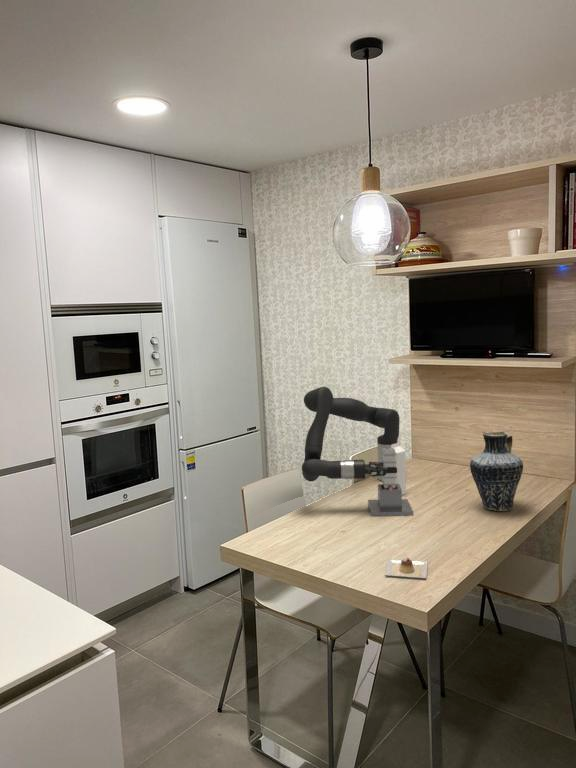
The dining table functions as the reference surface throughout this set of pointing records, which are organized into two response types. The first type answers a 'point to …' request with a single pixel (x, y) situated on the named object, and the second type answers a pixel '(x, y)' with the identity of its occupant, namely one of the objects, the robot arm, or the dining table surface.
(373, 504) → the stand
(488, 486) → the jug
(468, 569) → the dining table surface
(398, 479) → the milk
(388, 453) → the column
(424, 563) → the dessert
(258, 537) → the dining table surface
